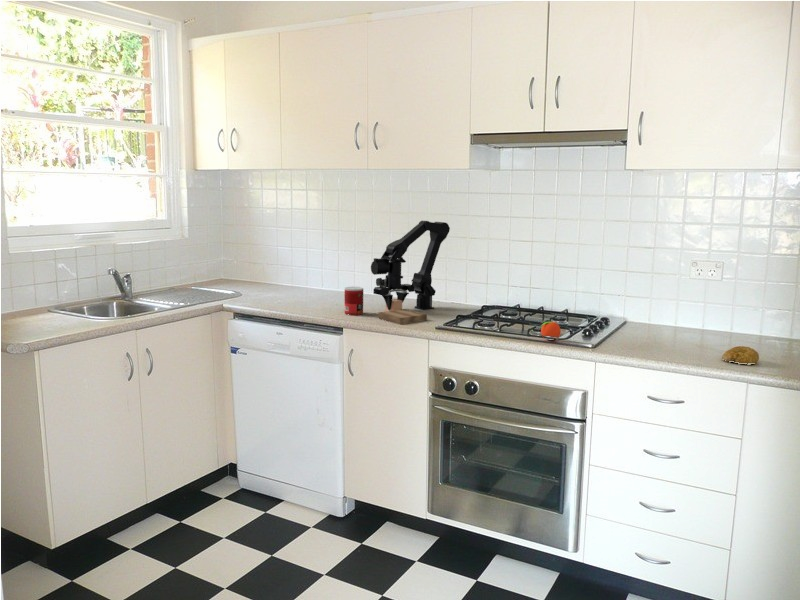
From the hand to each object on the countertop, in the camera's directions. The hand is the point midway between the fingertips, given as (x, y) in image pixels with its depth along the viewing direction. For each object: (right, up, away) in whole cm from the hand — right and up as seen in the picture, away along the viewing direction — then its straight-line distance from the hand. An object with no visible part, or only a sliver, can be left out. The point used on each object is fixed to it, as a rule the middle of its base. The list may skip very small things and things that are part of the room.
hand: (393, 309), depth 289 cm
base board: (+4, -4, -16) cm, 17 cm away
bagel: (+112, -16, -73) cm, 135 cm away
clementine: (+56, -11, -48) cm, 75 cm away
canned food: (-17, -2, -6) cm, 18 cm away
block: (0, -1, 0) cm, 1 cm away
